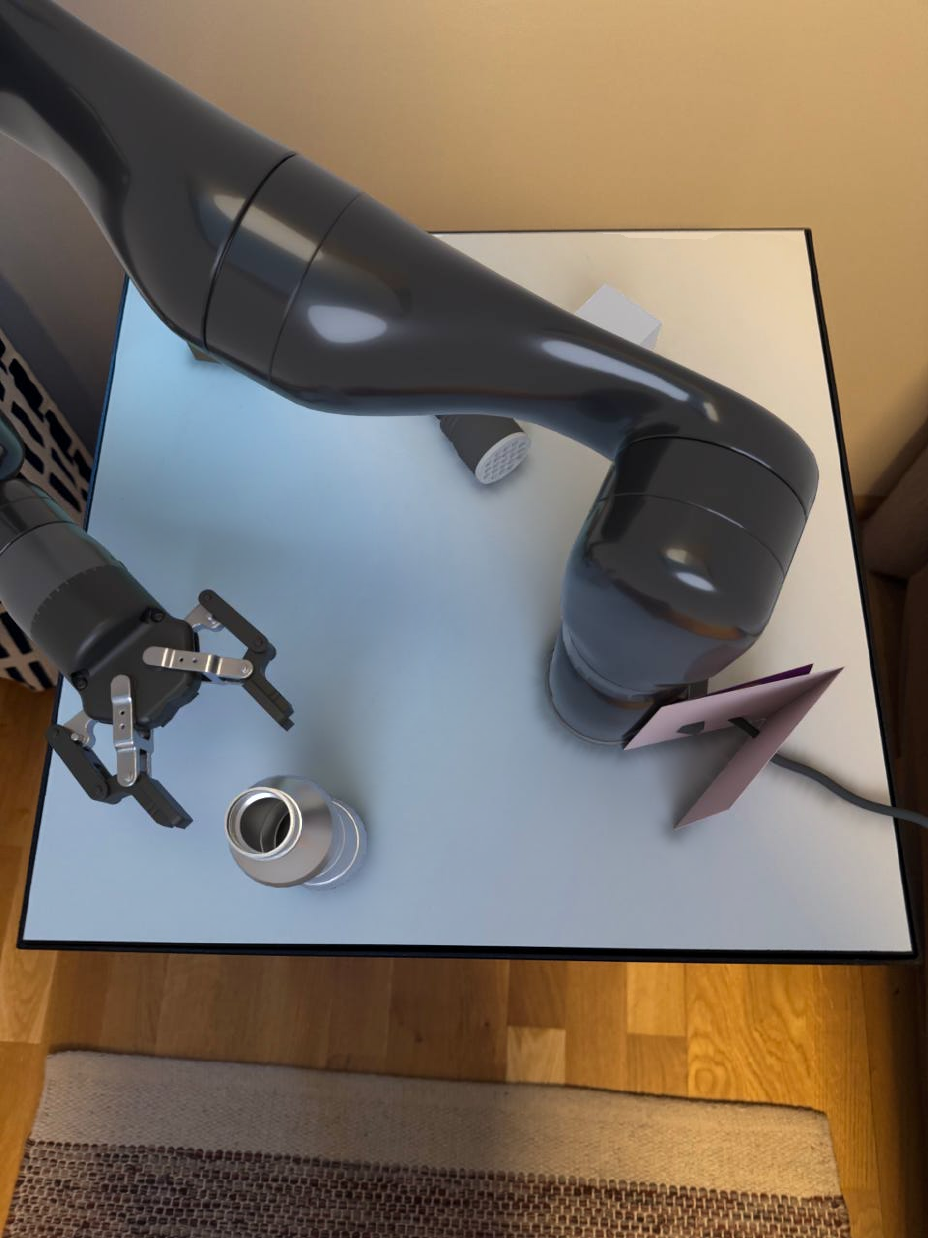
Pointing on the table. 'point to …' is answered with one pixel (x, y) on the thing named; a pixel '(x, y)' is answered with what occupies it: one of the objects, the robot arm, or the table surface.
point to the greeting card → (763, 698)
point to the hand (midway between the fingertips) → (237, 774)
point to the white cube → (620, 317)
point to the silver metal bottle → (294, 835)
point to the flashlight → (486, 443)
